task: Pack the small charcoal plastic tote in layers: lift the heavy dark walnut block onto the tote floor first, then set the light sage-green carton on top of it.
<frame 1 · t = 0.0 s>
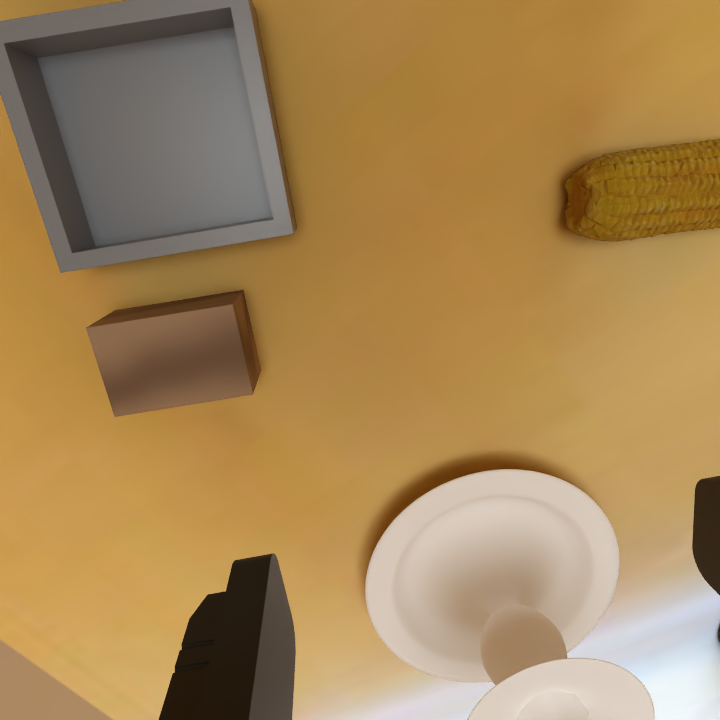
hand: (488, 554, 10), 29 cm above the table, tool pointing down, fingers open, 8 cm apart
food: (695, 183, 38), on the table
candlestick: (491, 573, 47), on the table
tote: (168, 142, 34), on the table
walnut block: (190, 340, 39), on the table
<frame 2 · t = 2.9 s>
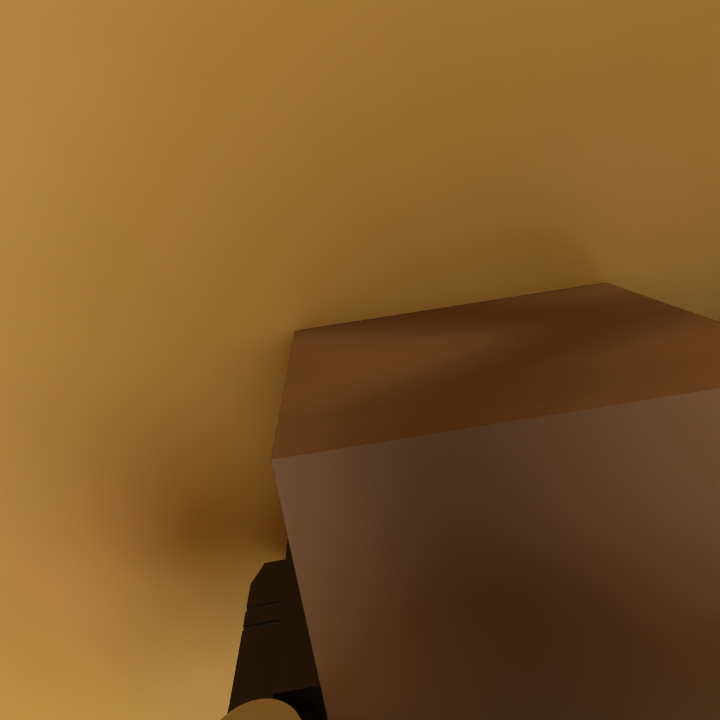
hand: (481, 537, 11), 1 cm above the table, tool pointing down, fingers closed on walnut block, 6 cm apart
walnut block: (469, 508, 12), on the table, touching gripper
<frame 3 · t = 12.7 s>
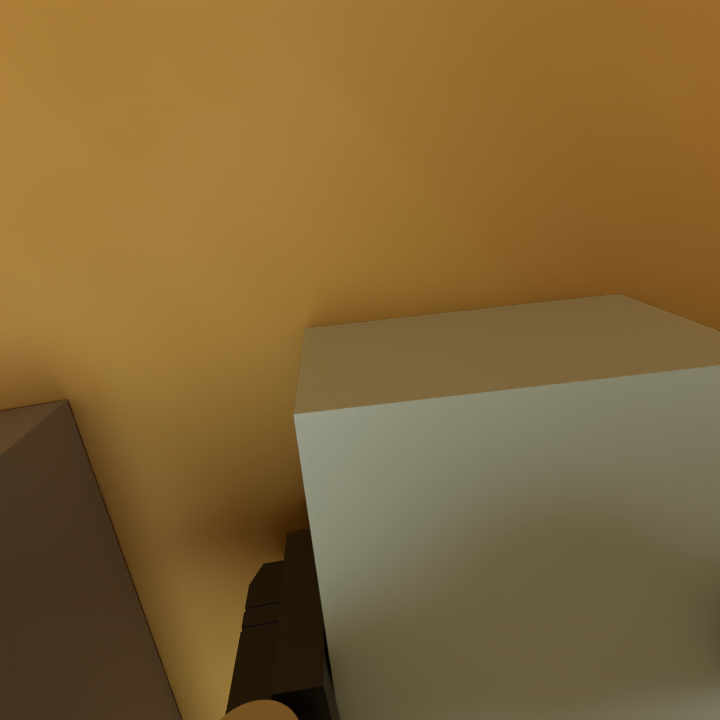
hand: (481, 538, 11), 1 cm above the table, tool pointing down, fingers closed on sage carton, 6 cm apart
sage carton: (470, 513, 12), on the table, touching gripper
when the fingers open (8 cm above the table, at t = 17.2 s): sage carton drops 1 cm, resting on walnut block.
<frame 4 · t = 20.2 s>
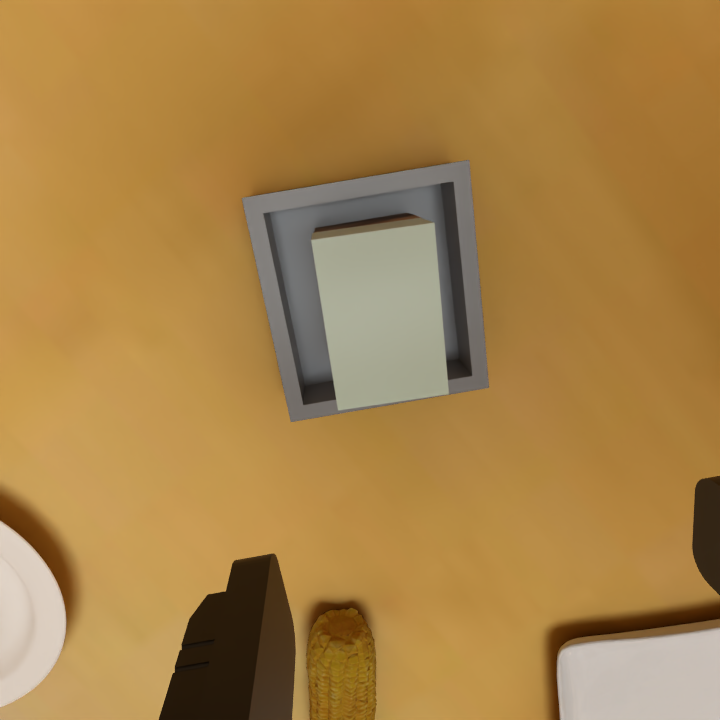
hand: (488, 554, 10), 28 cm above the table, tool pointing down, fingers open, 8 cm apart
food: (342, 686, 48), on the table
sage carton: (376, 304, 31), point 6 cm above the table, touching walnut block
salad plate: (653, 689, 51), on the table
tote: (368, 286, 37), on the table
walnut block: (371, 289, 36), point 1 cm above the table, touching sage carton, tote
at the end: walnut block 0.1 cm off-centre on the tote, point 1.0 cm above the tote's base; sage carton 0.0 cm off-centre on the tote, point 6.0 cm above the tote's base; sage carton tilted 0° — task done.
